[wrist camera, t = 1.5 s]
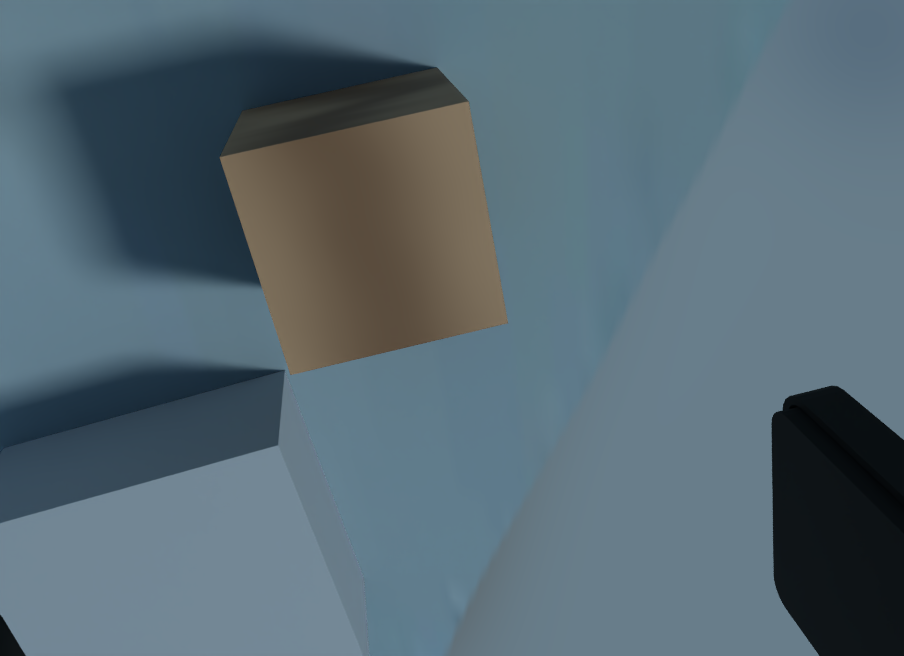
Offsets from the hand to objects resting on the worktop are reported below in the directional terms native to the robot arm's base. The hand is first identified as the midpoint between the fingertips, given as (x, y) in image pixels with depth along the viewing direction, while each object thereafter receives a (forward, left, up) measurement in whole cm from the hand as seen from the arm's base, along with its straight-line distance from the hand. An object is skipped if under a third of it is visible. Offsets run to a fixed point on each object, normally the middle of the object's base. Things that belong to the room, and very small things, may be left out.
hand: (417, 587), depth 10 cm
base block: (+9, +11, -18) cm, 23 cm away
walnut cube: (0, 0, -18) cm, 18 cm away
